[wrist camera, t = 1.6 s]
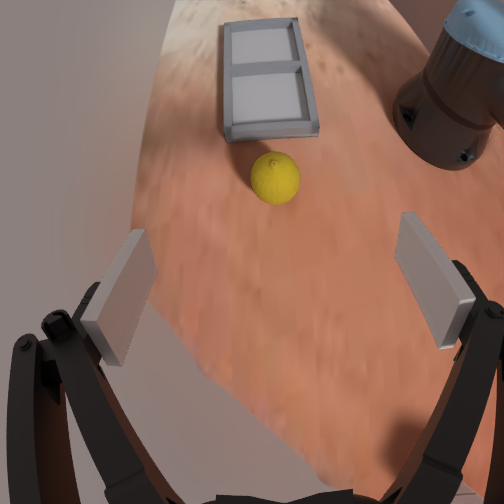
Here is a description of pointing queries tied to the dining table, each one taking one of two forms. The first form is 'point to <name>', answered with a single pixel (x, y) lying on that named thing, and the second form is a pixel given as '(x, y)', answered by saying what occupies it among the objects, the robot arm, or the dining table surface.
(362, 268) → the dining table surface
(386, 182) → the dining table surface
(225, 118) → the grey divided tray
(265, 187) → the lemon
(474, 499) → the syrup box
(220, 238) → the dining table surface
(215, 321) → the dining table surface
